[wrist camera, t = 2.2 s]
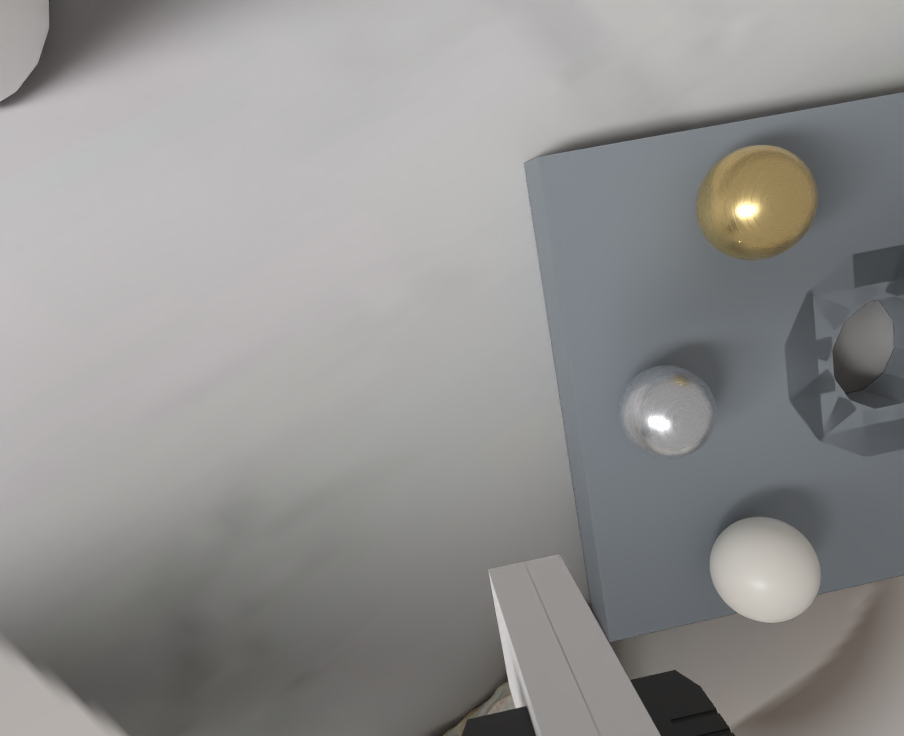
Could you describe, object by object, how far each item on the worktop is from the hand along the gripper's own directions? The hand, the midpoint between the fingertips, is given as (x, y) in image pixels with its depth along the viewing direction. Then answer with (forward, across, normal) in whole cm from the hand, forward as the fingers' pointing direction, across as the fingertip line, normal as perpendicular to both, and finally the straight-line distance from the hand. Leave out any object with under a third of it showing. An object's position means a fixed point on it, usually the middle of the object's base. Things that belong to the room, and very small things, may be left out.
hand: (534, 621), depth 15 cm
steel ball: (+12, +8, 0) cm, 14 cm away
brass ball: (+12, +12, +7) cm, 18 cm away
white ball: (+12, +11, -7) cm, 17 cm away
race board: (+16, +14, 0) cm, 21 cm away
